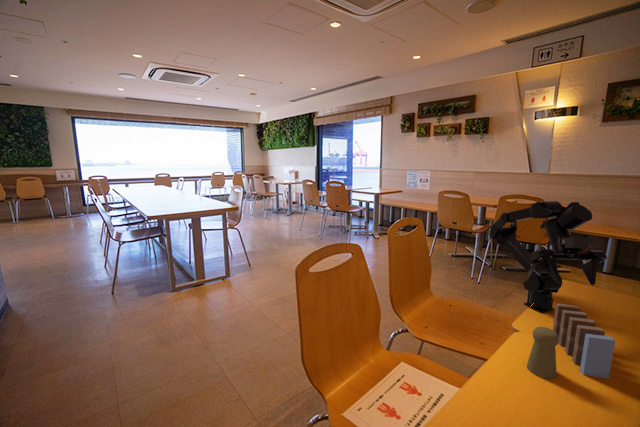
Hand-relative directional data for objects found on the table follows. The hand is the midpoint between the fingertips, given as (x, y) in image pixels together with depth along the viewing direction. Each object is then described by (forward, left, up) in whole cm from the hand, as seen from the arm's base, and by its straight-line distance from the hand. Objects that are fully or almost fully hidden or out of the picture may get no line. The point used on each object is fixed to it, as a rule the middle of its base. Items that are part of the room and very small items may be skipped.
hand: (576, 284), depth 89 cm
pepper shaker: (+9, -25, -15) cm, 31 cm away
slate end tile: (+14, -15, -15) cm, 26 cm away
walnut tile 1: (+2, -5, -15) cm, 16 cm away
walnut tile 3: (+8, -10, -15) cm, 20 cm away
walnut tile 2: (+5, -7, -15) cm, 18 cm away
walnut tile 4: (+11, -12, -15) cm, 22 cm away
